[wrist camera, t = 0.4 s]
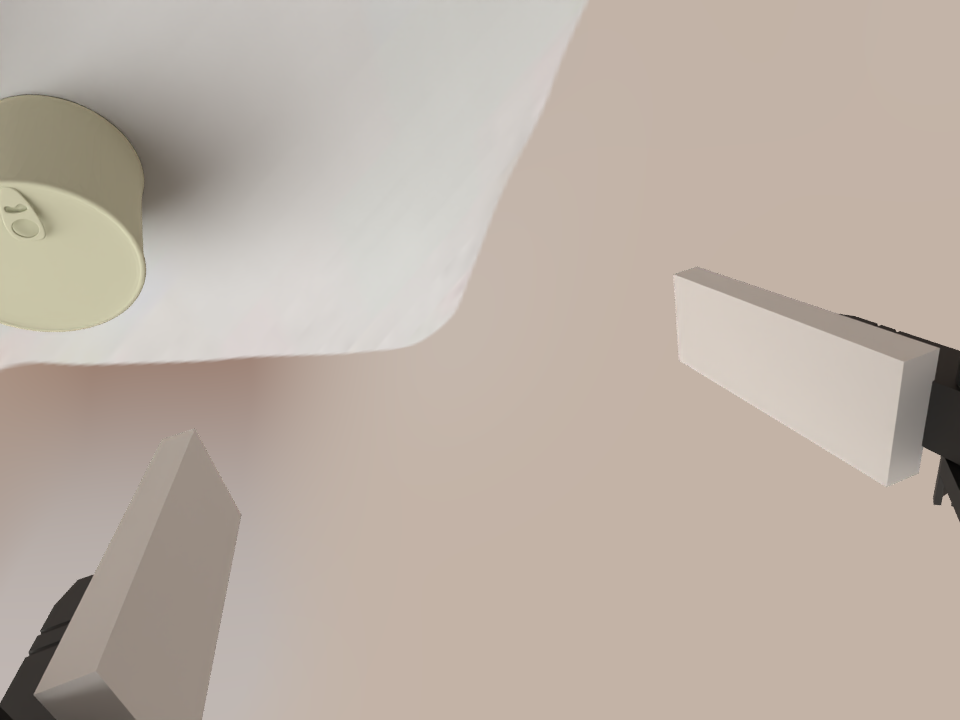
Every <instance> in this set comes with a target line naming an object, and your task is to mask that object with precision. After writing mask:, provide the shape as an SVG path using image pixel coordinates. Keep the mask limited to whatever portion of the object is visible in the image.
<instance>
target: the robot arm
mask: <svg viewBox="0 0 960 720" xmlns="http://www.w3.org/2000/svg"><path fill="white" fill-rule="evenodd" d="M674 290H675V306H676V320H677V337H678V351H679V361H681V362H682V363H684V364H686V365H687V366H689V367H691V368H692V369H694V370H695V371H697V372H699V373H700V374H702V375H704V376H705V377H707V378H709V379H710V380H712V381H714V382H715V383H717V384H718V385H720V386H722V387H724V388H725V389H727V390H728V391H730V392H732V393H733V394H735V395H737V396H738V397H740V398H741V399H743V400H745V401H746V402H748V403H750V404H751V405H753V406H755V407H756V408H758V409H759V410H761V411H763V412H764V413H766V414H768V415H769V416H771V417H773V418H774V419H776V420H777V421H779V422H781V423H783V424H784V425H786V426H787V427H789V428H791V429H792V430H794V431H795V432H797V433H799V434H800V435H802V436H804V437H805V438H807V439H809V440H810V441H812V442H813V443H815V444H817V445H818V446H820V447H822V448H823V449H825V450H827V451H828V452H830V453H832V454H833V455H835V456H836V457H838V458H840V459H841V460H843V461H845V462H846V463H848V464H850V465H851V466H853V467H854V468H856V469H858V470H860V471H861V472H863V473H864V474H866V475H868V476H869V477H871V478H873V479H874V480H876V481H877V482H879V483H881V484H882V485H884V486H886V487H888V486H890V485H893V484H895V483H897V482H900V481H902V480H904V479H907V478H909V477H911V476H914V475H916V474H918V473H919V468H920V462H921V456H922V450H923V447H925V448H927V449H929V450H931V451H933V452H935V453H937V454H939V455H941V459H940V465H939V470H938V475H937V480H936V486H935V491H934V496H933V500H934V501H933V502H934V505H941V502H942V497H943V496H944V495H945V494H947V493H948V495H949V498H950V500H951V502H952V505H951V506H953V507H954V509H955V512H956V514H957V517H958V519H959V521H960V351H959V350H955V349H953V348H949V347H946V346H943V345H940V344H937V343H934V342H931V341H928V340H925V339H922V338H919V337H916V336H913V335H910V334H907V333H904V332H901V331H899V332H896V330H895V329H892V328H889V327H886V326H883V325H880V326H878V325H877V323H874V322H871V321H868V320H865V319H862V318H859V317H856V316H849V315H843V314H837V313H833V312H831V311H828V310H825V309H822V308H819V307H816V306H813V305H810V304H807V303H804V302H800V301H798V300H795V299H792V298H789V297H786V296H783V295H780V294H777V293H774V292H771V291H768V290H765V289H762V288H759V287H756V286H753V285H750V284H747V283H745V282H742V281H738V280H736V279H732V278H730V277H727V276H724V275H721V274H718V273H714V272H711V271H709V270H706V269H703V268H700V267H695V268H691V269H689V270H686V271H682V272H679V273H676V274H674ZM240 519H241V513H240V511H239V510H238V508H237V506H236V504H235V502H234V500H233V498H232V497H231V495H230V493H229V491H228V489H227V487H226V486H225V484H224V482H223V480H222V478H221V476H220V475H219V472H218V471H217V469H216V467H215V465H214V463H213V461H212V459H211V458H210V456H209V454H208V452H207V450H206V448H205V446H204V445H203V443H202V441H201V439H200V437H199V435H198V433H197V432H196V430H195V429H192V430H189V431H186V432H183V433H180V434H177V435H174V436H171V437H167V438H164V439H162V440H161V443H160V444H159V446H158V449H157V451H156V452H155V454H154V456H153V458H152V460H151V462H150V464H149V466H148V468H147V470H146V472H145V474H144V476H143V479H142V480H141V482H140V484H139V486H138V488H137V490H136V492H135V494H134V496H133V498H132V500H131V502H130V504H129V506H128V508H127V510H126V512H125V514H124V516H123V518H122V520H121V522H120V524H119V526H118V528H117V530H116V532H115V534H114V536H113V538H112V540H111V542H110V544H109V546H108V548H107V550H106V552H105V554H104V556H103V558H102V560H101V561H100V564H99V566H98V567H97V570H96V571H95V574H94V575H91V576H88V577H85V578H82V579H79V580H77V582H76V583H75V584H74V585H73V586H72V587H71V588H70V589H69V590H68V592H66V594H65V595H64V596H63V597H62V598H61V599H60V600H59V601H58V602H57V603H56V604H55V605H54V607H53V609H52V611H51V612H50V614H49V616H48V618H47V620H46V622H45V623H44V625H43V627H42V629H41V630H40V631H41V635H39V636H37V638H36V640H35V641H34V643H33V645H32V647H31V649H30V651H29V656H28V657H26V658H25V659H24V661H23V663H22V665H21V667H20V668H19V670H18V672H17V674H16V676H15V678H14V679H13V681H12V683H11V685H10V686H9V688H8V690H7V692H6V694H5V696H4V697H3V699H2V701H1V703H0V720H202V716H203V711H204V706H205V700H206V695H207V690H208V685H209V680H210V675H211V670H212V664H213V659H214V654H215V649H216V642H217V638H218V633H219V628H220V623H221V617H222V612H223V607H224V602H225V597H226V591H227V586H228V581H229V576H230V571H231V565H232V560H233V555H234V549H235V545H236V540H237V534H238V529H239V524H240Z"/></svg>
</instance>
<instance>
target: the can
mask: <svg viewBox="0 0 960 720" xmlns="http://www.w3.org/2000/svg"><path fill="white" fill-rule="evenodd" d="M143 190H144V174H143V169H142V165H141V162H140V160H139V157H138V155H137V153H136V151H135V150H134V148H133V147H132V145H131V144H130V142H129V141H128V140H127V139H126V137H125V136H124V135H123V134H122V133H121V132H120V131H119V130H118V129H117V128H116V127H115V126H113V125H112V124H111V123H110V122H108V121H107V120H106V119H104V118H103V117H101V116H100V115H98V114H97V113H95V112H93V111H91V110H89V109H87V108H85V107H83V106H81V105H78V104H76V103H73V102H70V101H67V100H64V99H60V98H56V97H50V96H43V95H20V96H13V97H8V98H5V99H2V100H0V323H1V324H4V325H7V326H11V327H16V328H20V329H26V330H32V331H42V332H66V331H75V330H81V329H86V328H90V327H93V326H97V325H100V324H102V323H105V322H107V321H109V320H111V319H113V318H115V317H117V316H118V315H120V314H121V313H123V312H124V311H125V310H127V309H128V308H129V307H130V306H131V305H132V304H133V303H134V301H135V300H136V299H137V297H138V296H139V294H140V292H141V290H142V288H143V285H144V282H145V277H146V263H145V258H144V254H143V236H142V195H143Z"/></svg>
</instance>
